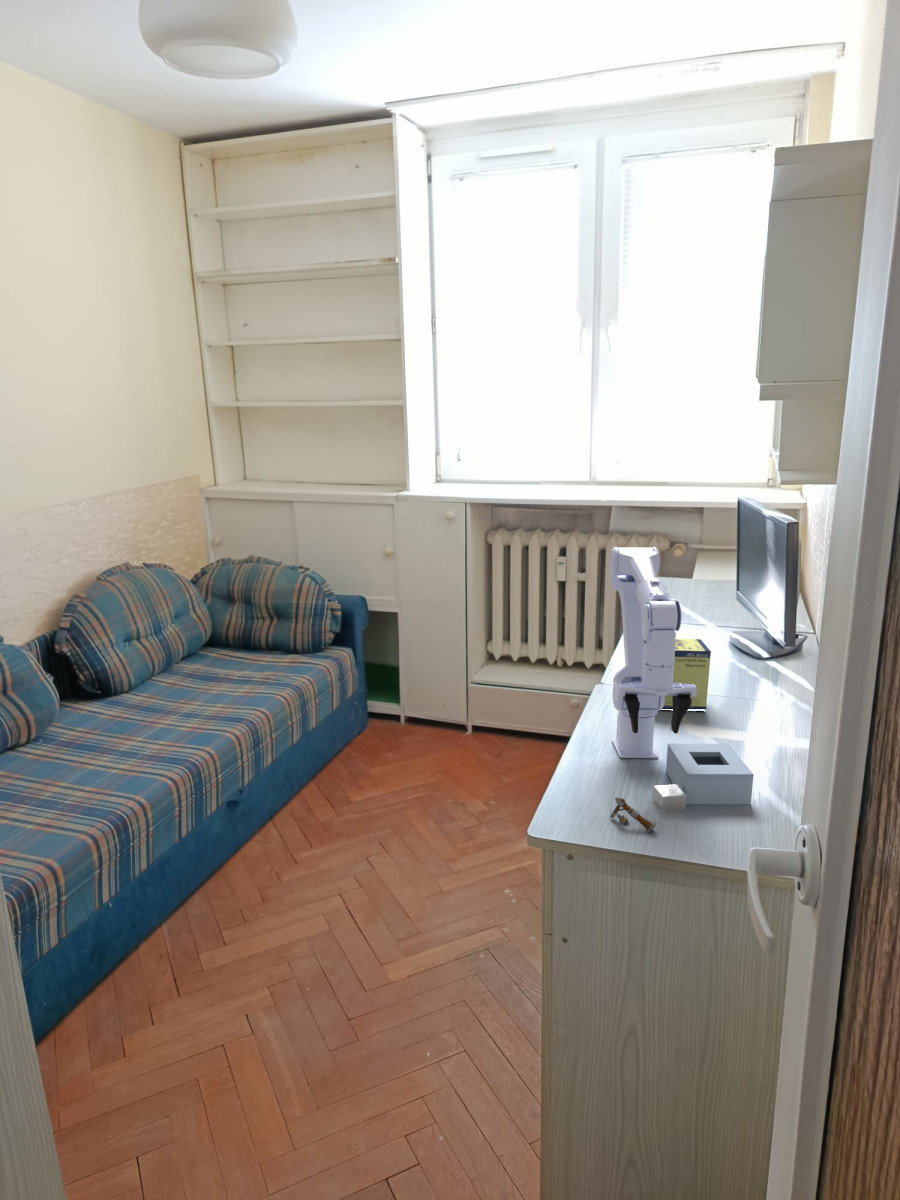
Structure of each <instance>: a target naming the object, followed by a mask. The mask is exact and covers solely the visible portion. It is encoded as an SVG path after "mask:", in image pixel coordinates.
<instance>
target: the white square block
mask: <svg viewBox="0 0 900 1200" xmlns="http://www.w3.org/2000/svg"><path fill="white" fill-rule="evenodd" d="M652 788H653V790H652V801H653V800H654V801H655V802H656V803H655V802H654V801H653V802H654V803H655V804H656V805H657V806H659V807H660V808H661V809H660V808H659V807H658V808H659V809H660V811H662V810H670V811H682V810H683V809H687V804H686V799H687V795H686V794H685V793H684V792H683V791H682V789H681V788H680V787H679V786H678V785H677V784H673V783H672V784H661V785H660V784H659V785H658V784H657V785H653V787H652Z"/></svg>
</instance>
